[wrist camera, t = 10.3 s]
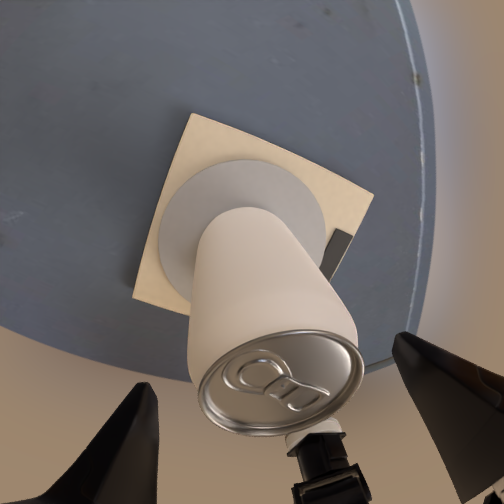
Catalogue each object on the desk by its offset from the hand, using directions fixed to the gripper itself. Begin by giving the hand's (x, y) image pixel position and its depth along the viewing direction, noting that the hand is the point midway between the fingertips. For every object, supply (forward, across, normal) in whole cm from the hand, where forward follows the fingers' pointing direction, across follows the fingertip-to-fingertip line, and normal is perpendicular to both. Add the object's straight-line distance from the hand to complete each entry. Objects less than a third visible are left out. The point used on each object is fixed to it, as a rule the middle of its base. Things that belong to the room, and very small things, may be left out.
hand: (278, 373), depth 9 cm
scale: (+13, 0, 0) cm, 13 cm away
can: (+11, 0, 0) cm, 11 cm away
